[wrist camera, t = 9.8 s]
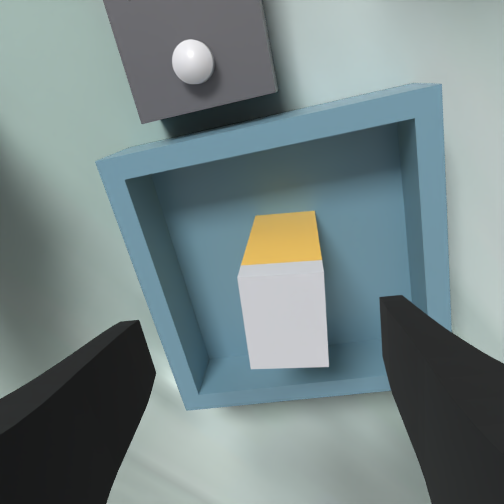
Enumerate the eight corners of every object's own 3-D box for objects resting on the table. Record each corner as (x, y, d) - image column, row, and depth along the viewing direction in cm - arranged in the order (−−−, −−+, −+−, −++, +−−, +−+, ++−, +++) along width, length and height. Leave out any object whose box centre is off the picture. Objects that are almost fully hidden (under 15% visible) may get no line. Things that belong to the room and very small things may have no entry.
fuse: (263, 284, 22) (250, 369, 15) (255, 215, 20) (237, 277, 14) (318, 281, 21) (329, 367, 15) (314, 210, 20) (323, 272, 14)
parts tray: (201, 365, 26) (186, 410, 22) (129, 147, 20) (95, 161, 17) (429, 338, 23) (453, 384, 20) (413, 83, 18) (441, 83, 14)
